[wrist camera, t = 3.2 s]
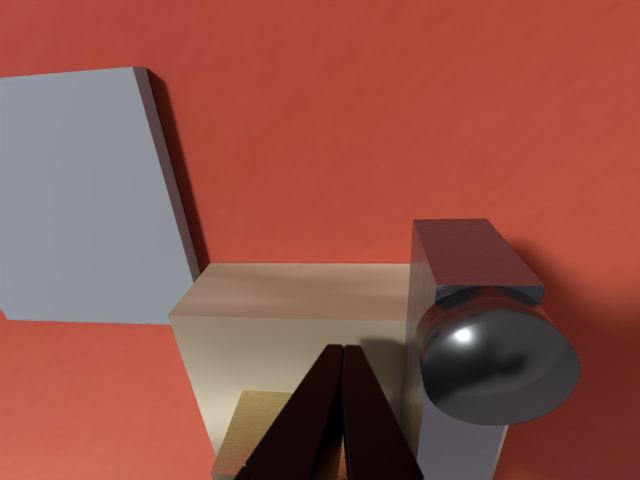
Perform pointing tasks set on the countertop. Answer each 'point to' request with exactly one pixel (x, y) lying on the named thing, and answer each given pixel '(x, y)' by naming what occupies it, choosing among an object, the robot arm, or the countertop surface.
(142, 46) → the countertop surface
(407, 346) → the latch lever
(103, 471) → the countertop surface
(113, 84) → the rubber mat
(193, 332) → the cream rectangular block
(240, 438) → the tan wooden block
